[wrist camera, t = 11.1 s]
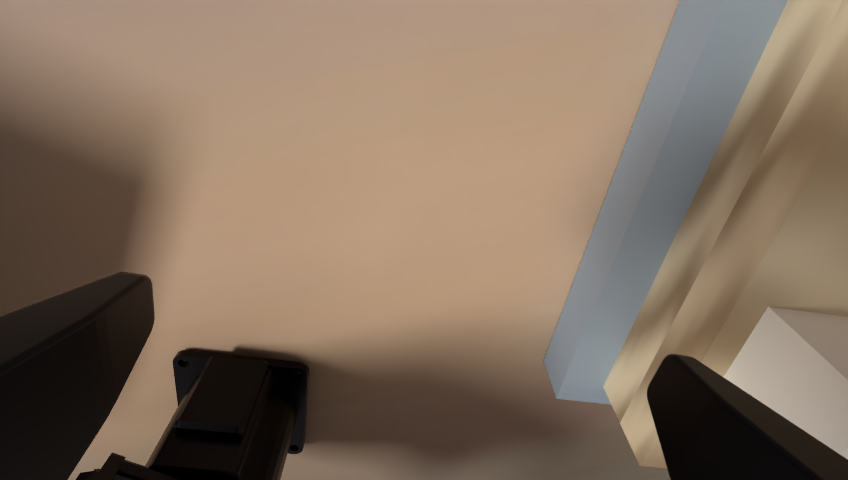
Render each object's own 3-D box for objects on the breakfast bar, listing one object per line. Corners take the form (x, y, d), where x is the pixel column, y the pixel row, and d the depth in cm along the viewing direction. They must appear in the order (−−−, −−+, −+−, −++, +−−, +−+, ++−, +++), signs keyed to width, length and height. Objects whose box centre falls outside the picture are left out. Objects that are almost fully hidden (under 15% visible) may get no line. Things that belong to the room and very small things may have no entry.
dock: (724, 381, 25) (754, 419, 23) (543, 360, 24) (556, 398, 22) (1172, -316, 13) (1330, -378, 11) (836, -413, 12) (933, -502, 10)
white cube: (814, 409, 17) (920, 523, 13) (709, 398, 16) (790, 511, 13) (884, 321, 15) (1029, 427, 11) (768, 306, 14) (880, 410, 11)
